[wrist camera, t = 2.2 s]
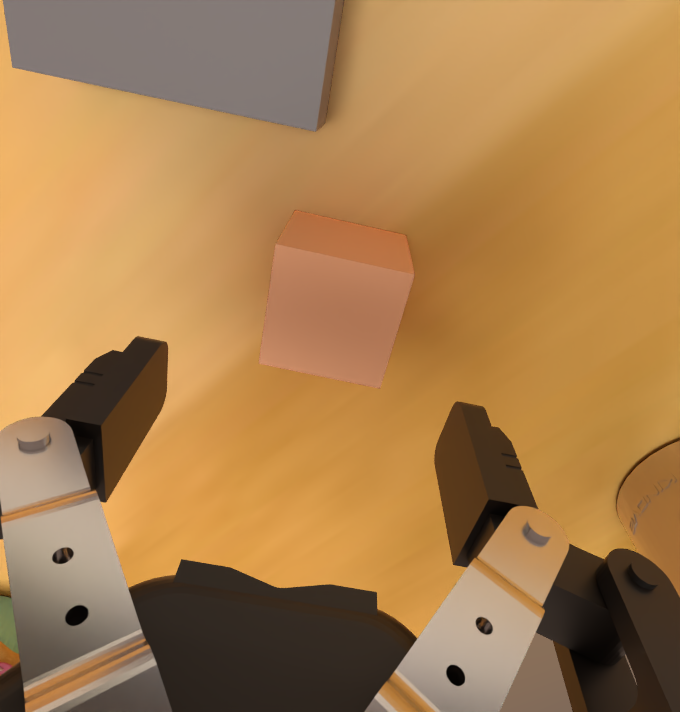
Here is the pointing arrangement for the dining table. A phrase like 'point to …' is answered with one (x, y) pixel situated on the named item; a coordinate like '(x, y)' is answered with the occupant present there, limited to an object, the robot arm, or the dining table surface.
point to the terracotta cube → (335, 299)
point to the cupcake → (7, 636)
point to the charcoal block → (189, 51)
